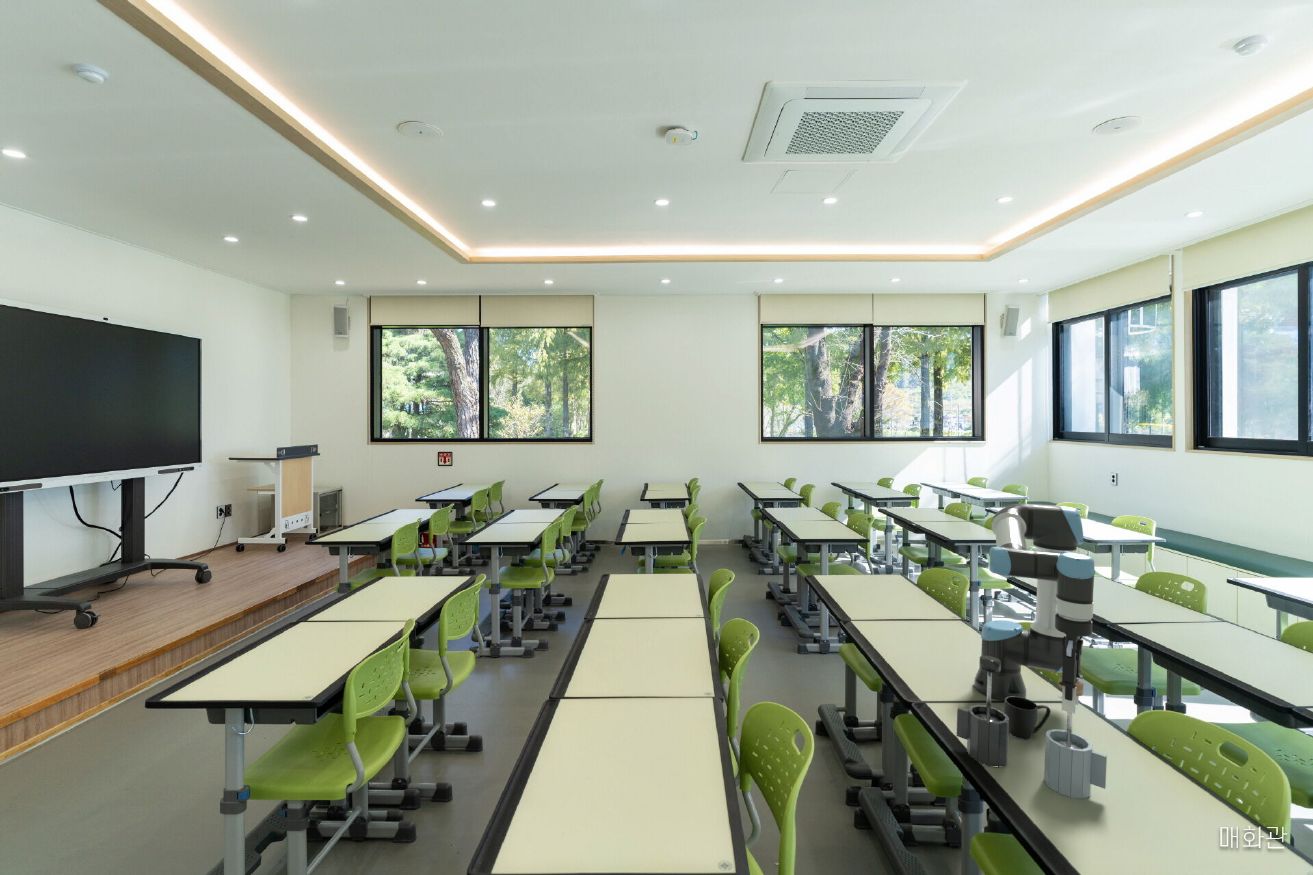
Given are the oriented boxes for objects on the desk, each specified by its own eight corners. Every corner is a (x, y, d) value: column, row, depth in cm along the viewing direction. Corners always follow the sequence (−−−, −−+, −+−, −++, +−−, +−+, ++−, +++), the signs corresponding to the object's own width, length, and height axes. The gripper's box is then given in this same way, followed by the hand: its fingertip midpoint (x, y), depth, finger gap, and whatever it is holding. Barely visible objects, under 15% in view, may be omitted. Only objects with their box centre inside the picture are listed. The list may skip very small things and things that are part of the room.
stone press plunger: (1055, 739, 148) (1057, 673, 148) (1085, 749, 144) (1088, 681, 143) (1051, 749, 144) (1053, 681, 143) (1082, 760, 139) (1085, 690, 139)
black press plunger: (978, 713, 160) (980, 652, 160) (1004, 722, 156) (1006, 659, 155) (972, 722, 156) (974, 659, 155) (998, 731, 151) (1000, 666, 151)
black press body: (961, 738, 165) (962, 697, 164) (1010, 755, 157) (1011, 713, 156) (951, 752, 158) (953, 710, 158) (1002, 771, 150) (1004, 727, 149)
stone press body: (1047, 769, 151) (1049, 725, 150) (1106, 790, 143) (1108, 743, 142) (1041, 786, 144) (1043, 740, 143) (1103, 809, 136) (1105, 760, 135)
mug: (1056, 744, 162) (1057, 712, 162) (1011, 740, 164) (1012, 708, 163) (1041, 728, 170) (1042, 697, 170) (998, 725, 172) (999, 694, 172)
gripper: (1060, 603, 151) (1057, 689, 152) (1049, 622, 138) (1046, 715, 139) (1096, 610, 146) (1092, 698, 147) (1088, 630, 133) (1084, 726, 134)
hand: (1070, 706), depth 143 cm, fingers closed on stone press plunger, 5 cm apart
